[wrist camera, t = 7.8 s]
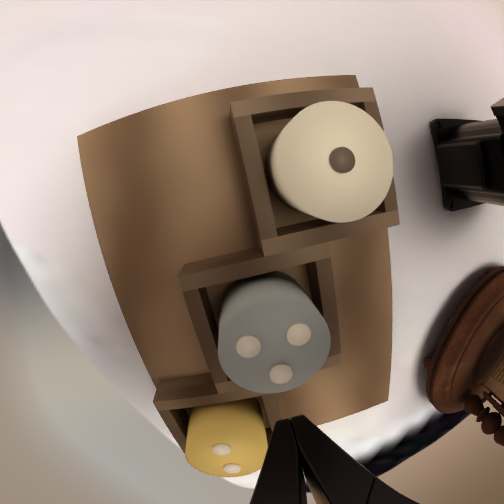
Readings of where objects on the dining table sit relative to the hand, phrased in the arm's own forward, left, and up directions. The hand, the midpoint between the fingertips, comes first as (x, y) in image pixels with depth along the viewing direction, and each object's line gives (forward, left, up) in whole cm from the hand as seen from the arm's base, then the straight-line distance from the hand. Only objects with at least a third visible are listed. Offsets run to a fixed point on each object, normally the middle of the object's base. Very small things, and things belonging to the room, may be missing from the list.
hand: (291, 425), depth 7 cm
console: (0, -1, -10) cm, 10 cm away
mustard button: (+4, +7, -8) cm, 11 cm away
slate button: (0, 0, -8) cm, 8 cm away
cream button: (-4, -7, -8) cm, 12 cm away
